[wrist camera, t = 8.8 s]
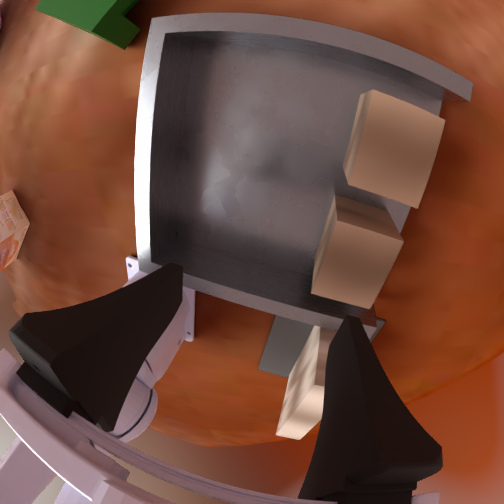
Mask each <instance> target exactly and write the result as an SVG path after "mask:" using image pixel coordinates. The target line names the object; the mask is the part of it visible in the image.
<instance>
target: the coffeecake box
mask: <svg viewBox="0 0 504 504" xmlns="http://www.w3.org/2000/svg"><path fill="white" fill-rule="evenodd" d="M29 225H30V222H29V220H28V219H27V217H26V215H25V213H24V212H23V210H22V208H21V206H20V205H19V202H18V200H17V198H16V196H15V194H14V192H13V190H11V191H9V192H7V193H5V194H3V195H1V196H0V271H1V270H3V269H4V268H5V267H6V266H8V265H9V264H10V263H11V262H13V261H14V260H16V258H17V256H18V253H19V250H20V247H21V245H22V242H23V240H24V237H25V234H26V232H27V230H28V227H29Z"/></svg>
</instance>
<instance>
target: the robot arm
mask: <svg viewBox="0 0 504 504" xmlns="http://www.w3.org/2000/svg"><path fill="white" fill-rule="evenodd" d="M126 264H127V272H128V279H129V281H128V282H127V283H126V284H125V285H124V286H123V287H122V288H120V289H118V290H116V291H114V292H112V293H110V294H107V295H105V296H102V297H99V298H97V299H94V300H91V301H88V302H84V303H81V304H77V305H74V306H70V307H66V308H61V309H56V310H50V311H43V312H33V313H26V314H25V315H24V316H23V317H22V318H21V319H20V320H19V321H18V322H17V323H16V324H15V325H14V326H13V327H12V328H11V329H10V330H9V337H10V339H11V341H12V343H13V344H14V346H15V347H16V349H17V350H18V352H19V354H20V355H21V356H22V358H23V360H24V361H25V362H24V363H23V365H21V364H20V363H19V362H18V361H17V360H16V359H15V358H14V357H13V356H12V355H11V354H10V353H9V352H8V351H7V350H6V349H5V348H3V349H2V350H1V352H0V415H1V416H2V418H3V419H4V420H5V421H6V422H7V424H8V425H9V426H10V427H11V428H12V430H13V431H14V432H15V433H16V434H17V435H18V437H17V438H16V439H15V441H14V442H13V443H12V445H11V446H10V448H9V449H8V450H7V452H6V453H5V454H4V456H3V457H2V458H1V460H0V504H31V503H32V502H33V501H34V500H35V499H36V498H37V497H38V496H39V494H40V493H41V492H42V491H43V490H44V489H45V488H46V487H47V485H48V484H49V483H50V482H51V481H52V480H53V479H54V478H55V477H56V475H58V476H60V477H61V478H62V479H63V480H64V481H66V482H65V484H64V486H63V488H62V490H61V491H60V493H59V495H58V497H57V498H56V501H55V502H54V504H175V503H172V502H170V501H168V500H165V499H163V498H160V497H158V496H156V495H153V494H151V493H149V492H147V491H145V490H143V489H141V488H138V487H136V486H134V485H132V484H130V483H128V482H127V477H128V476H129V474H130V472H129V471H128V470H127V469H125V468H123V467H122V466H120V465H119V464H118V463H116V461H115V460H113V459H111V458H110V457H108V456H107V455H114V456H116V457H117V458H119V459H121V460H123V461H125V462H126V463H128V464H130V465H132V466H134V467H136V468H138V469H140V470H142V471H144V472H146V473H149V474H151V475H153V476H155V477H157V478H160V479H162V480H164V481H167V482H169V483H171V484H174V485H177V486H179V487H182V488H184V489H187V490H190V491H193V492H195V493H198V494H201V495H205V496H208V497H211V498H214V499H218V500H221V501H225V502H229V503H232V504H439V492H438V491H436V492H431V493H425V494H419V495H415V496H412V490H415V489H416V488H417V481H420V480H422V479H425V478H427V477H429V476H431V475H433V474H435V473H437V472H438V471H440V470H441V468H442V467H443V459H442V447H441V446H440V445H439V444H438V443H437V442H436V441H435V440H434V439H433V438H432V437H431V436H430V435H429V434H428V433H427V432H426V431H425V430H424V429H423V427H422V426H421V425H420V424H419V423H418V422H417V421H416V419H415V418H414V417H413V416H412V414H411V413H410V412H409V410H408V409H407V407H406V406H405V405H404V403H403V402H402V400H401V399H400V397H399V396H398V394H397V393H396V391H395V389H394V388H393V386H392V385H391V383H390V381H389V379H388V378H387V376H386V374H385V372H384V370H383V368H382V366H381V364H380V362H379V360H378V358H377V356H376V354H375V351H374V349H373V347H372V345H371V343H370V340H369V338H368V336H367V334H366V331H365V329H364V327H363V324H362V322H361V320H360V318H358V317H354V316H351V315H347V314H346V316H345V318H344V320H343V322H342V324H341V325H340V327H339V329H338V331H337V332H336V334H335V336H334V338H333V339H332V341H331V343H330V345H329V349H328V355H327V361H326V369H325V386H324V402H323V412H322V419H321V424H320V429H319V433H318V437H317V441H316V445H315V449H314V453H313V456H312V460H311V463H310V466H309V469H308V472H307V475H306V477H305V480H304V483H303V485H302V488H301V490H300V493H299V495H298V499H296V498H288V497H282V496H276V495H270V494H265V493H260V492H255V491H251V490H247V489H242V488H238V487H235V486H231V485H227V484H223V483H220V482H217V481H213V480H210V479H207V478H204V477H201V476H198V475H196V474H193V473H190V472H187V471H185V470H182V469H180V468H177V467H174V466H172V465H170V464H167V463H165V462H163V461H160V460H158V459H156V458H154V457H151V456H149V455H147V454H145V453H143V452H141V451H139V450H137V449H135V448H133V447H131V446H129V445H127V444H126V443H127V442H128V441H130V440H131V439H134V438H136V437H137V436H139V435H140V434H141V433H142V432H143V431H144V430H145V429H146V428H147V427H148V426H149V424H150V423H151V421H152V420H153V418H154V416H155V413H156V410H157V405H158V402H157V401H158V395H157V392H156V390H155V389H154V388H153V386H154V384H155V383H156V381H158V380H159V379H160V378H161V377H162V376H163V375H164V374H165V372H166V370H167V368H168V367H169V365H170V363H171V361H172V360H173V358H174V356H175V355H176V353H177V351H178V349H179V348H180V346H181V344H182V342H183V341H184V339H185V340H187V341H193V339H194V318H195V291H196V290H193V289H190V288H187V287H185V286H183V266H181V265H178V264H175V263H172V262H171V263H169V264H167V265H165V266H163V267H161V268H159V269H157V270H156V271H154V272H152V273H150V274H148V273H145V272H142V271H139V265H138V258H136V257H133V256H128V257H127V258H126Z"/></svg>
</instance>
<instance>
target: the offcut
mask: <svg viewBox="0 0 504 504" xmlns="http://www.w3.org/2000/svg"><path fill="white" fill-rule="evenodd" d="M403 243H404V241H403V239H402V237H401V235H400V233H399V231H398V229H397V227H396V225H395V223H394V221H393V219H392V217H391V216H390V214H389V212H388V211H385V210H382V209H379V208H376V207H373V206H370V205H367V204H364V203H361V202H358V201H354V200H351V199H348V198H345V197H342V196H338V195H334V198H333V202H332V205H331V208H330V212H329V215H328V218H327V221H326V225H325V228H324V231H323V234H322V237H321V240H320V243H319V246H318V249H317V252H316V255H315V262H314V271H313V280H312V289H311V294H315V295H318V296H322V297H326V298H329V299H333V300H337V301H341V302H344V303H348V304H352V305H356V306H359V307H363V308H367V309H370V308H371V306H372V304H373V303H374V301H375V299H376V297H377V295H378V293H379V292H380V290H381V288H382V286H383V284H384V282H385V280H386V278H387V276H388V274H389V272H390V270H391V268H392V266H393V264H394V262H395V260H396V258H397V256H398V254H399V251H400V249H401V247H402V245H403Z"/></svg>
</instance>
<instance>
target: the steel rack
mask: <svg viewBox="0 0 504 504" xmlns="http://www.w3.org/2000/svg"><path fill="white" fill-rule="evenodd" d="M472 88H473V82H471V81H469V80H468V79H466V78H464V77H463V76H461V75H459V74H457V73H456V72H454V71H452V70H450V69H448V68H447V67H445V66H443V65H441V64H439V63H437V62H435V61H433V60H431V59H429V58H427V57H424V56H422V55H420V54H418V53H416V52H413V51H411V50H409V49H406V48H404V47H401V46H399V45H396V44H393V43H391V42H388V41H385V40H382V39H380V38H377V37H374V36H371V35H367V34H364V33H361V32H357V31H354V30H350V29H347V28H343V27H339V26H335V25H330V24H326V23H321V22H316V21H311V20H305V19H299V18H292V17H285V16H276V15H266V14H253V13H194V14H181V15H171V16H163V17H155V18H152V20H151V24H150V29H149V34H148V39H147V44H146V50H145V56H144V62H143V69H142V76H141V84H140V92H139V102H138V113H137V126H136V144H135V221H136V240H137V253H138V265H139V271H142V272H145V273H148V274H150V273H152V272H154V271H156V270H157V269H159V268H161V267H163V266H165V265H167V264H169V263H171V262H172V263H175V264H178V265H181V266H183V286H185V287H187V288H190V289H193V290H196V291H199V292H202V293H206V294H209V295H212V296H215V297H218V298H221V299H224V300H227V301H231V302H234V303H237V304H240V305H244V306H247V307H250V308H254V309H257V310H261V311H264V312H267V313H271V314H274V315H278V316H281V317H285V318H289V319H292V320H296V321H300V322H303V323H307V324H311V325H315V326H319V327H323V328H326V329H330V330H334V331H338V329H339V327H340V325H341V324H342V322H343V320H344V318H345V316H346V314H347V315H351V316H354V317H358V318H360V320H361V322H362V324H363V327H364V329H365V331H366V334H367V336H368V338H369V339H370V338H371V336H372V335H373V333H374V332H375V330H376V329H377V323H376V316H375V309H374V303H373V304H372V306H371V308H370V309H367V308H363V307H359V306H356V305H352V304H348V303H344V302H341V301H337V300H333V299H329V298H326V297H322V296H318V295H315V294H311V289H312V280H313V271H314V262H315V255H316V252H317V249H318V246H319V243H320V240H321V237H322V234H323V231H324V228H325V225H326V221H327V218H328V215H329V212H330V208H331V205H332V202H333V198H334V195H338V196H342V197H345V198H348V199H351V200H354V201H358V202H361V203H364V204H367V205H370V206H373V207H376V208H379V209H382V210H385V211H388V212H389V214H390V216H391V217H392V219H393V221H394V223H395V225H396V227H397V229H398V231H399V233H401V230H402V228H403V226H404V223H405V221H406V218H407V216H408V213H409V211H410V208H411V206H409V205H406V204H403V203H401V202H398V201H395V200H392V199H390V198H387V197H384V196H381V195H378V194H375V193H372V192H369V191H366V190H363V189H360V188H357V187H354V186H351V185H348V182H347V179H346V176H345V173H344V169H343V163H344V160H345V156H346V152H347V148H348V145H349V141H350V137H351V133H352V129H353V125H354V120H355V116H356V112H357V108H358V103H359V99H360V95H361V94H363V93H366V92H368V91H370V90H376V91H379V92H382V93H384V94H387V95H390V96H392V97H395V98H397V99H400V100H402V101H405V102H407V103H410V104H412V105H414V106H417V107H419V108H421V109H423V110H426V111H428V112H430V113H432V114H434V115H436V116H438V117H439V114H440V109H441V105H442V101H460V102H470V100H471V94H472Z"/></svg>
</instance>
